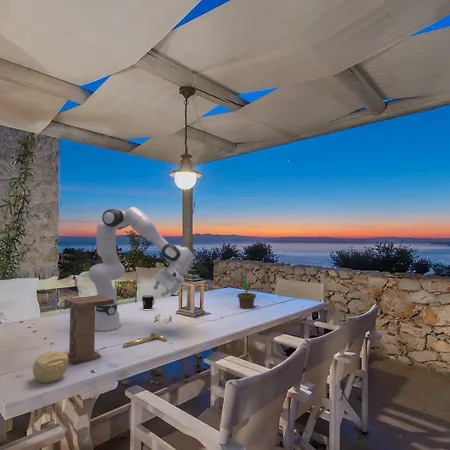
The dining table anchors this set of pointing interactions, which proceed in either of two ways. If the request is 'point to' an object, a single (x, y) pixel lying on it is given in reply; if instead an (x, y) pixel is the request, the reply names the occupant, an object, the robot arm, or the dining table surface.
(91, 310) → the walnut stand
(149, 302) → the coffee mug
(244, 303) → the flowerpot
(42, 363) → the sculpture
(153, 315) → the dining table surface
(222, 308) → the dining table surface
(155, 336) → the brass T-key
